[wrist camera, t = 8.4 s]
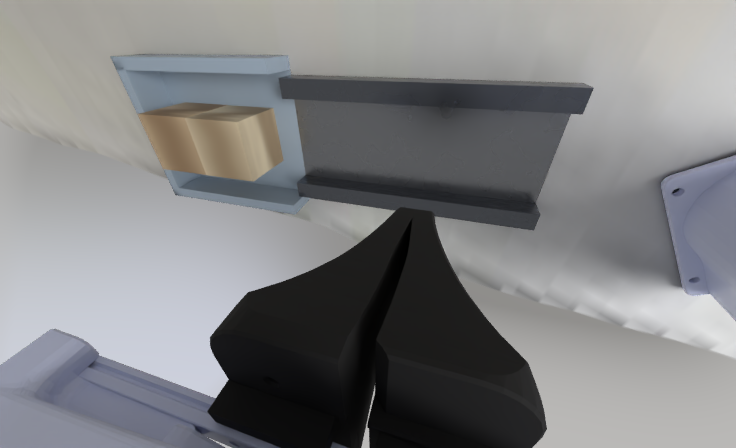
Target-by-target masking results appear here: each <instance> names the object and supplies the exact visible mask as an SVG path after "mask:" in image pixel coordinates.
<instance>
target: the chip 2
mask: <svg viewBox="0 0 736 448" xmlns="http://www.w3.org/2000/svg"><path fill="white" fill-rule="evenodd" d="M185 120H186V123H187V125H188V128H189V131H190V133H191V136H192V139H193V141H194V144H195V147H196V149H197V152H198V155H199V157H200V160H201V162H202V165H203V168H204V170H205V173H206V175H209V176H216V177H223V178H231V179H238V180H245V181H253V182H254V181H255V180H256V179H258V178H259V177H261V176H262V175H264V174H265V173H266V172H268V171H269V170H271V169H272V168H274V167H275V166H276V165H278V164H279V163H281V162H282V161H284V160H283V155H282V150H281V144H280V139H279V134H278V129H277V124H276V119H275V114H274V109H273V108H266V107H249V106H233V105H226V106H223V107H220V108H216V109H213V110H210V111H206V112H203V113H200V114H196V115H193V116H190V117H186V118H185Z"/></svg>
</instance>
